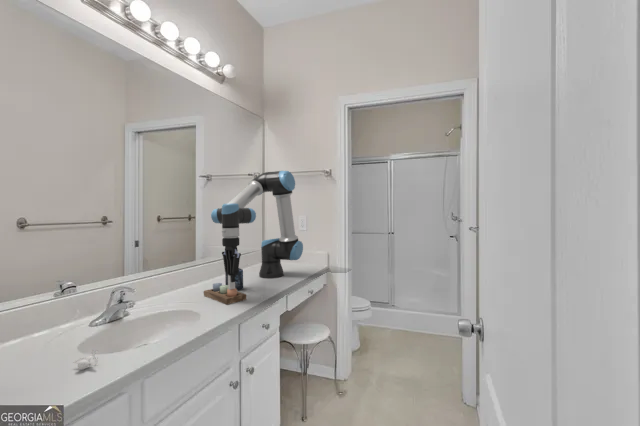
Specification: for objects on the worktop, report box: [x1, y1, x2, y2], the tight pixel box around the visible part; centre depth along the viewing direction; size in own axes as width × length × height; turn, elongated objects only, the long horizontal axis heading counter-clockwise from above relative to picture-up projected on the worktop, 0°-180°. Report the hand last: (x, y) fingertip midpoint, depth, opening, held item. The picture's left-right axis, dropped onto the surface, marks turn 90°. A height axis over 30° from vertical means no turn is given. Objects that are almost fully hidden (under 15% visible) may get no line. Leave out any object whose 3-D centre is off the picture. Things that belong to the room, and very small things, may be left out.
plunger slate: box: [212, 282, 223, 292], centre depth 154 cm, size 4×4×4 cm
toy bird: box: [72, 349, 99, 370], centre depth 83 cm, size 8×5×5 cm, turn 78°
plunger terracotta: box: [227, 288, 238, 297], centre depth 144 cm, size 4×4×4 cm
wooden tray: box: [203, 288, 247, 305], centre depth 149 cm, size 10×22×2 cm, turn 45°
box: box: [224, 267, 244, 291], centre depth 164 cm, size 8×6×11 cm
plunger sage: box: [220, 284, 228, 294], centre depth 149 cm, size 4×4×4 cm
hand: (231, 288), depth 144 cm, fingers closed
